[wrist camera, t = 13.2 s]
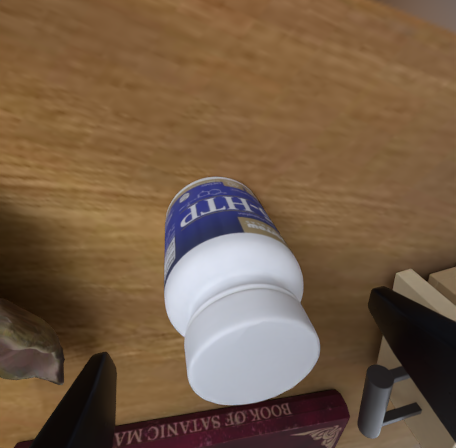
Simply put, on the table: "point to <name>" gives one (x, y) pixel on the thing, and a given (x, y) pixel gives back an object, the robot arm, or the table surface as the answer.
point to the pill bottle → (235, 295)
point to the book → (244, 426)
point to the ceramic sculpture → (28, 346)
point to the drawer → (397, 376)
